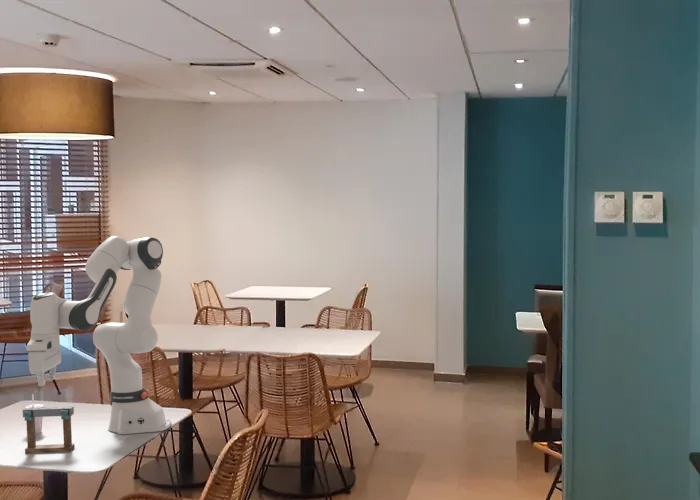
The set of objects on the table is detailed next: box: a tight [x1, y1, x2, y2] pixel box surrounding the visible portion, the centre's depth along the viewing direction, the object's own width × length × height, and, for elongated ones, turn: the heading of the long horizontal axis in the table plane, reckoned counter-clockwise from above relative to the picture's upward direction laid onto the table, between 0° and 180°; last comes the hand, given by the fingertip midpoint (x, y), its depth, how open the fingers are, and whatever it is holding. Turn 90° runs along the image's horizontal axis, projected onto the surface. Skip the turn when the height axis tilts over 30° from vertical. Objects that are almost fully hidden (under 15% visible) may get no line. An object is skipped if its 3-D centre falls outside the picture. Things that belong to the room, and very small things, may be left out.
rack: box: [23, 410, 75, 454], centre depth 254 cm, size 15×5×14 cm, turn 93°
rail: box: [22, 405, 75, 418], centre depth 254 cm, size 16×2×2 cm, turn 93°
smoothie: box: [25, 393, 45, 435], centre depth 277 cm, size 6×6×14 cm
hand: (46, 382), depth 253 cm, fingers open, 8 cm apart
